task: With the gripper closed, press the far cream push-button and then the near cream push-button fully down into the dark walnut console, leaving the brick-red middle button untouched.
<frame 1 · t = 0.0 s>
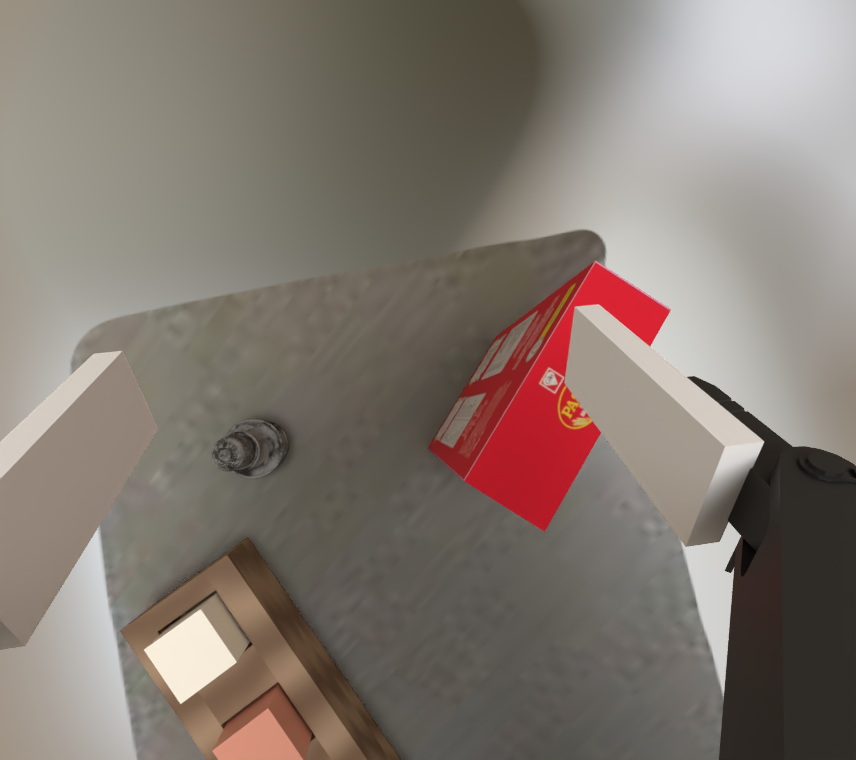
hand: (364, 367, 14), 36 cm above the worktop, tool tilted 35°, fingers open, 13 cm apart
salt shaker: (263, 446, 48), on the worktop
mount: (284, 690, 46), on the worktop
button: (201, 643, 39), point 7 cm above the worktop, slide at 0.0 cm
middle button: (265, 738, 39), point 7 cm above the worktop, slide at 0.0 cm
food packaging: (482, 404, 50), on the worktop
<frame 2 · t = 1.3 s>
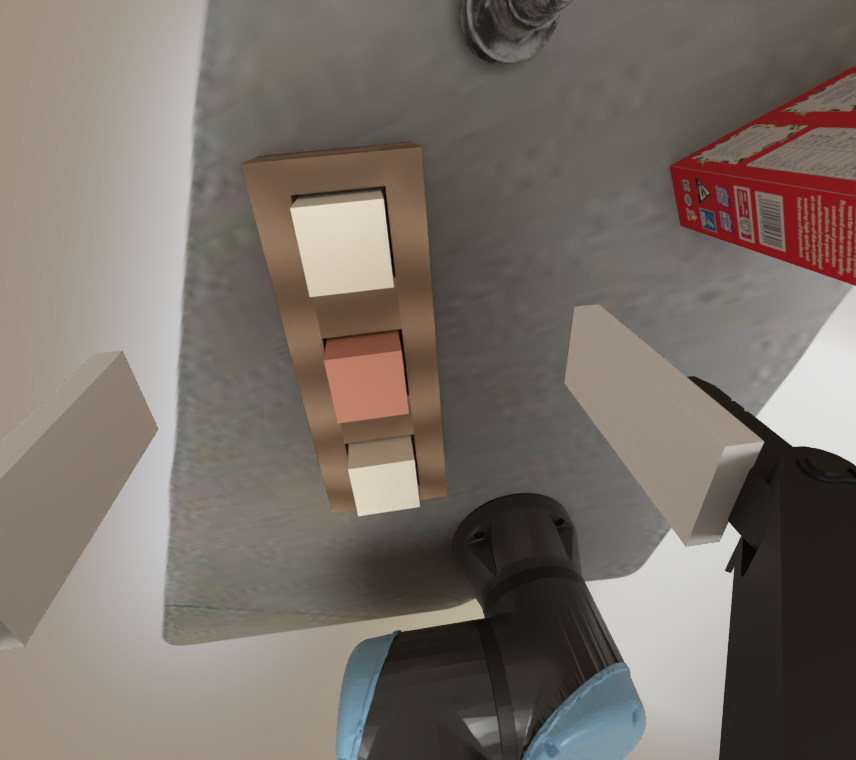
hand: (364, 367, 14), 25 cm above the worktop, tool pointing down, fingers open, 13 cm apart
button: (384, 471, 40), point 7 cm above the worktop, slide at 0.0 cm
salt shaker: (498, 14, 30), on the worktop
mount: (366, 336, 40), on the worktop
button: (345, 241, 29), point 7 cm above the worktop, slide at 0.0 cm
middle button: (367, 374, 34), point 7 cm above the worktop, slide at 0.0 cm
food packaging: (759, 151, 37), on the worktop
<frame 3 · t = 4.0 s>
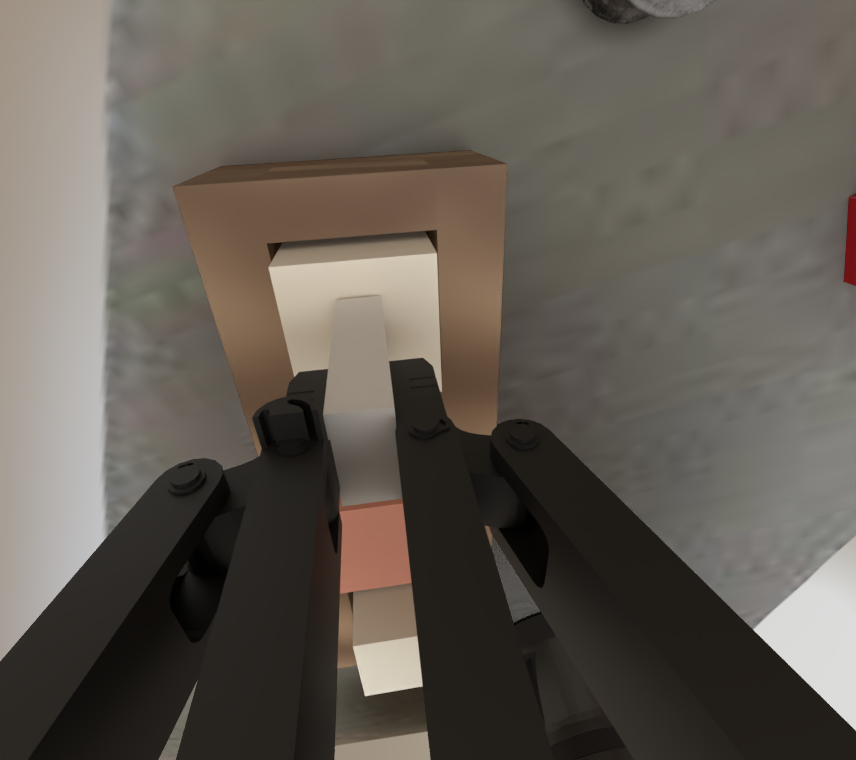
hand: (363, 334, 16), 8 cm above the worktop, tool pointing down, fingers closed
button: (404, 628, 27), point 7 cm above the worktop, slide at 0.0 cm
mount: (382, 427, 28), on the worktop
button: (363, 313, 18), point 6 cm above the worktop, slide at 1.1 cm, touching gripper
middle button: (388, 512, 22), point 7 cm above the worktop, slide at 0.0 cm
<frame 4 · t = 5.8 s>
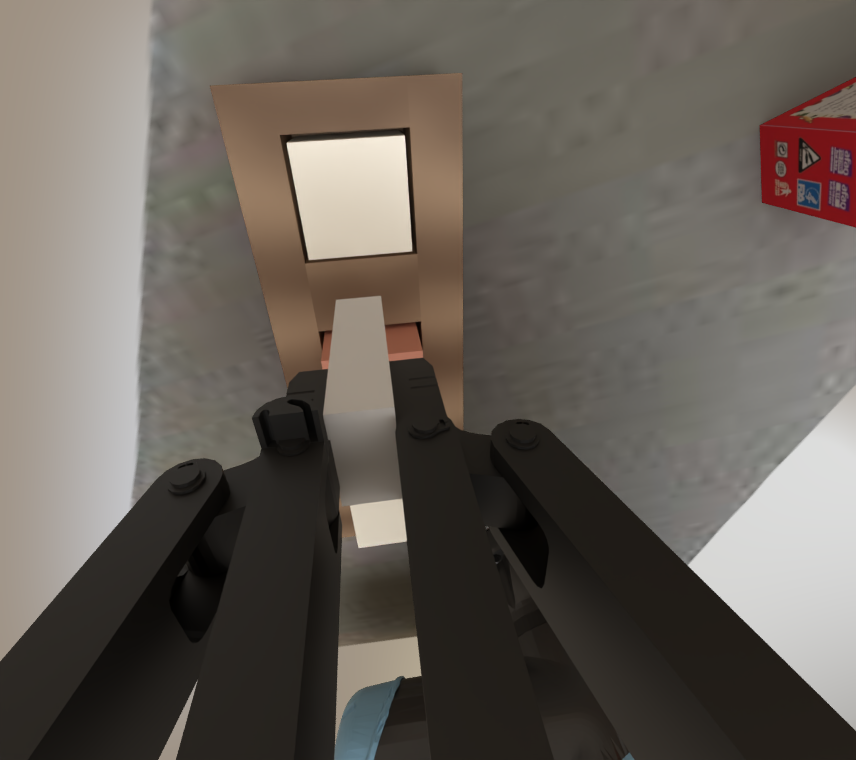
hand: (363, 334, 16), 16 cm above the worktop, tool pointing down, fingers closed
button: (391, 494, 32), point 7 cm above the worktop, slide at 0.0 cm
mount: (372, 328, 33), on the worktop
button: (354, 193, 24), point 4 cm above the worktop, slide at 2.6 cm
middle button: (376, 377, 27), point 7 cm above the worktop, slide at 0.0 cm
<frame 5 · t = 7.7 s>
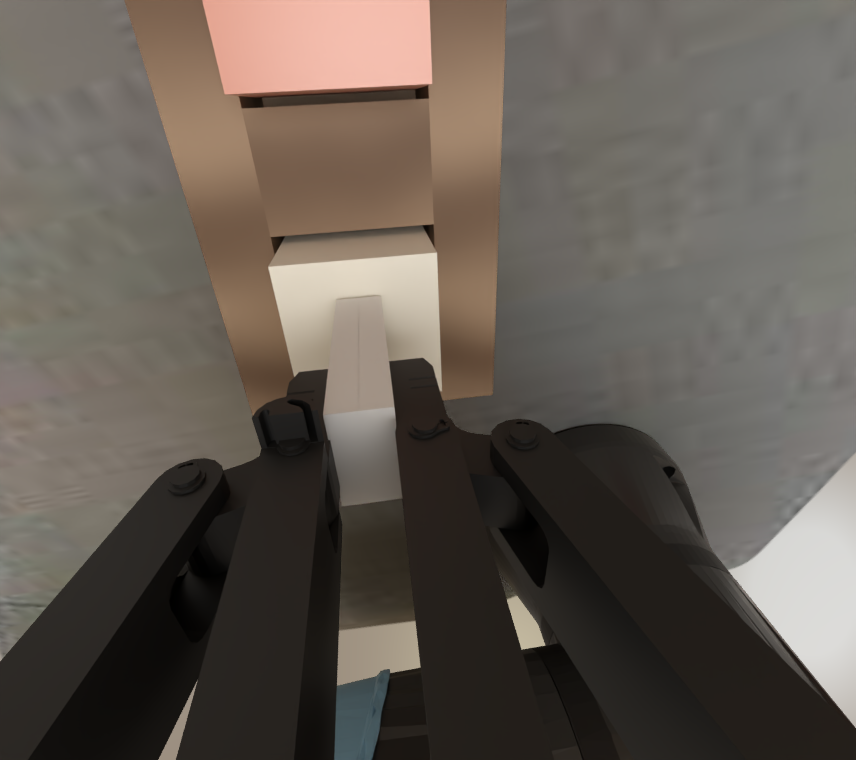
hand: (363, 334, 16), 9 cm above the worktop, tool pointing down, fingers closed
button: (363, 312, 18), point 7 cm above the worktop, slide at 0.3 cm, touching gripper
mount: (331, 17, 18), on the worktop
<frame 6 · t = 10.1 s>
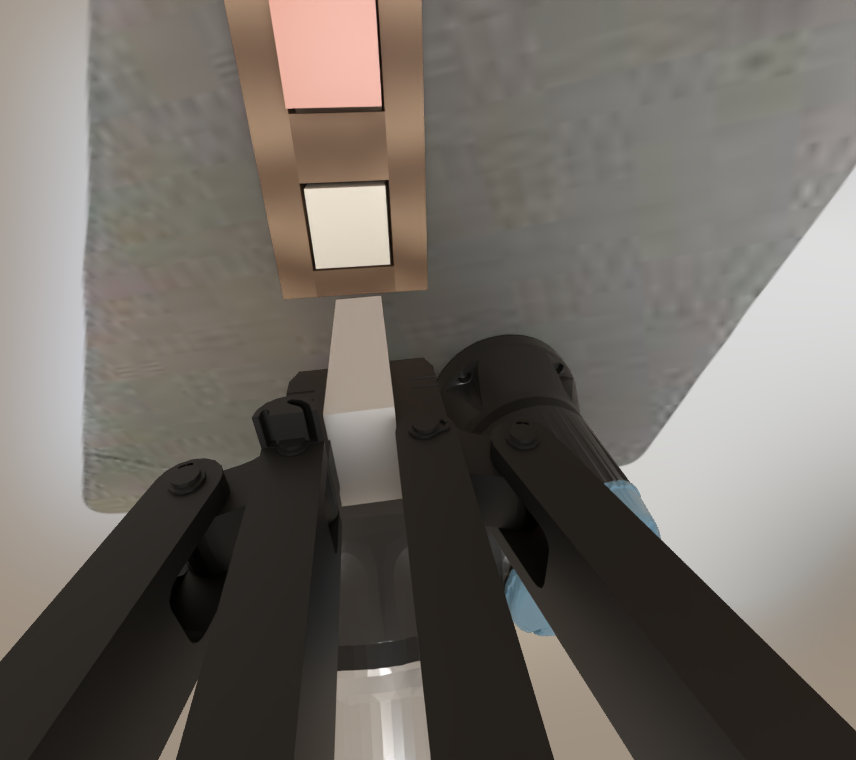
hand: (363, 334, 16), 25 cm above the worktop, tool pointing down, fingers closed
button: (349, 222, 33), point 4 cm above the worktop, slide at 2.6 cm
mount: (335, 62, 32), on the worktop
middle button: (329, 52, 26), point 7 cm above the worktop, slide at 0.0 cm
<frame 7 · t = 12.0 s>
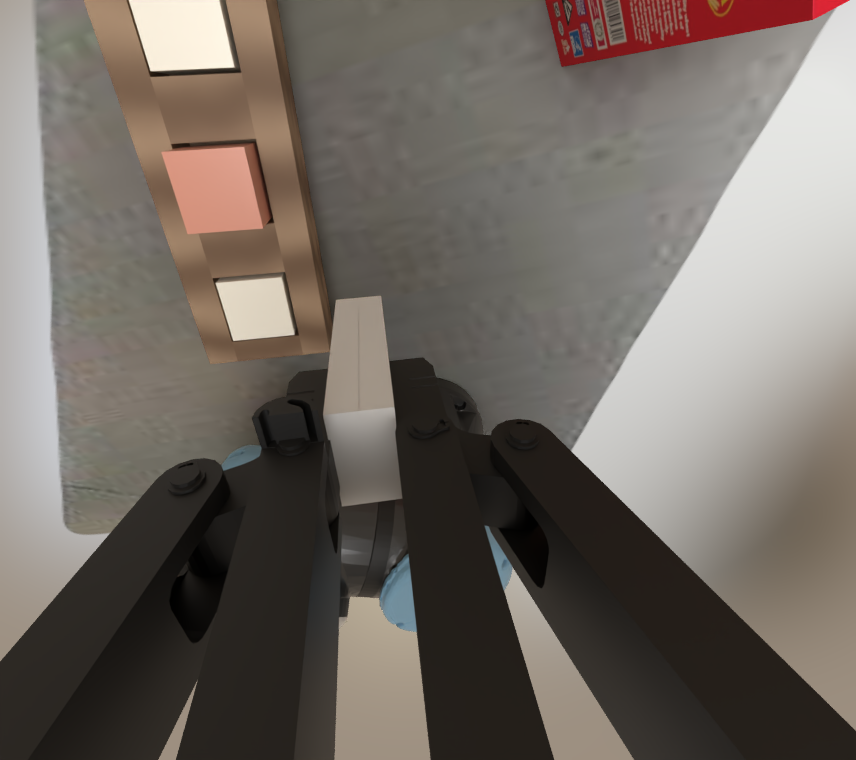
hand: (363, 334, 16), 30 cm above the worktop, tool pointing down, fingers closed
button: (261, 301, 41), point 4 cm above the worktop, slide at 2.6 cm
mount: (242, 175, 39), on the worktop
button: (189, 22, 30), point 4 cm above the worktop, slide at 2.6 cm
middle button: (222, 187, 33), point 7 cm above the worktop, slide at 0.0 cm
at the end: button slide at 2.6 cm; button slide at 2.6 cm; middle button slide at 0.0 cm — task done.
